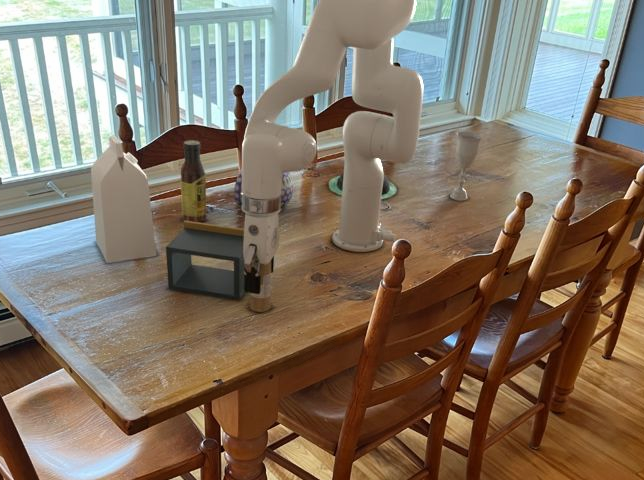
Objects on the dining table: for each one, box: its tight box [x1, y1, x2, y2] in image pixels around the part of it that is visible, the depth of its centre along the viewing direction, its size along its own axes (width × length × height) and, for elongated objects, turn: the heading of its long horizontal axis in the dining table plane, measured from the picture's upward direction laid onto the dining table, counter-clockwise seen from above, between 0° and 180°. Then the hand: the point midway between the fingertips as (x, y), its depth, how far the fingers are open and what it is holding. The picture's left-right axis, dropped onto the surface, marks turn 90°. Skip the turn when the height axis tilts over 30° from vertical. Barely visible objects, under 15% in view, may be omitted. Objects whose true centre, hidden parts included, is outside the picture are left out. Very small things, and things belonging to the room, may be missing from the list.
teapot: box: [233, 168, 294, 212], centre depth 192 cm, size 25×15×15 cm, turn 143°
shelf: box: [165, 220, 246, 301], centre depth 156 cm, size 16×11×12 cm
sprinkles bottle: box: [248, 258, 272, 313], centre depth 147 cm, size 5×5×14 cm
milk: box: [90, 134, 157, 264], centre depth 164 cm, size 12×12×26 cm
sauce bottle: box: [180, 140, 207, 223], centre depth 182 cm, size 7×6×20 cm
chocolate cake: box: [328, 159, 397, 200], centre depth 211 cm, size 15×19×20 cm
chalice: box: [449, 130, 484, 202], centre depth 204 cm, size 7×7×18 cm
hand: (259, 282), depth 147 cm, fingers open, 9 cm apart
